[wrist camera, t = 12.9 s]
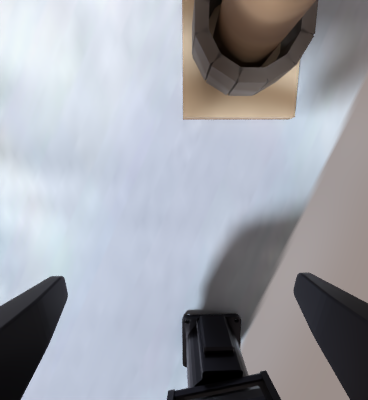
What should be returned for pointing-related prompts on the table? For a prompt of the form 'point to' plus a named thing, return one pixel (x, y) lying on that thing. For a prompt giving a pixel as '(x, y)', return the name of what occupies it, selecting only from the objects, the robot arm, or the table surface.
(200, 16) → the ringed base plate
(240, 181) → the table surface
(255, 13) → the plug
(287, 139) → the table surface
